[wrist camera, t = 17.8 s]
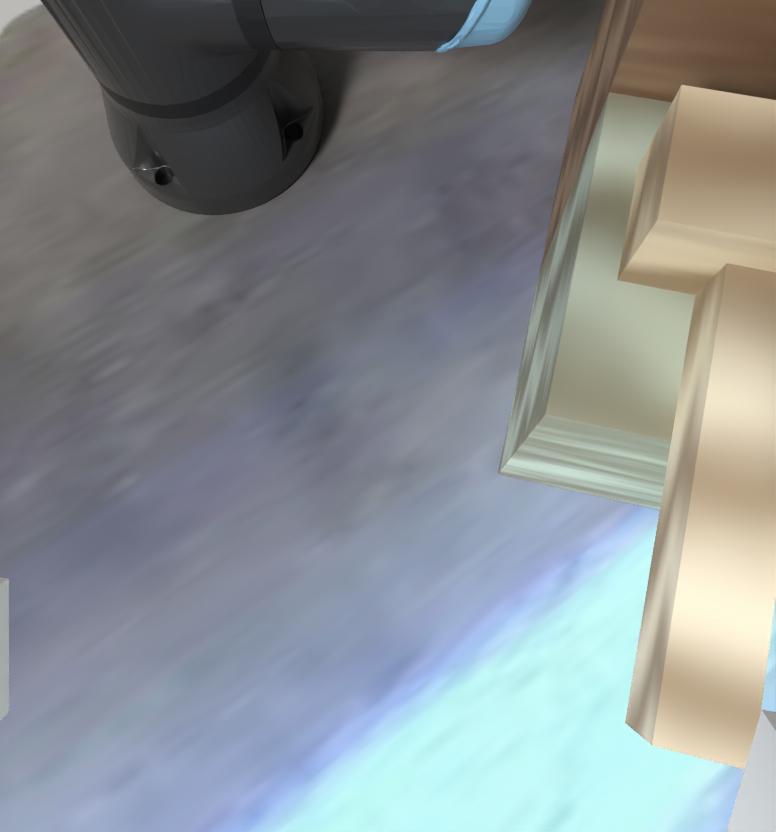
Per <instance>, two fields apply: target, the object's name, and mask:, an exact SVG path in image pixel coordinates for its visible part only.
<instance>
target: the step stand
mask: <svg viewBox="0 0 776 832" xmlns="http://www.w3.org/2000/svg"><path fill="white" fill-rule="evenodd" d="M681 85H686V86H692V87H699V88H705V89H711V90H717V91H723V92H729V93H735V94H741V95H747V96H753V97H759V98H766V99H772V100H776V0H606V2H605V5H604V8H603V12H602V15H601V18H600V21H599V24H598V27H597V31H596V34H595V37H594V40H593V43H592V46H591V50H590V53H589V56H588V59H587V62H586V65H585V69H584V72H583V75H582V78H581V81H580V85H579V88H578V91H577V94H576V99H575V104H574V108H573V113H572V118H571V123H570V128H569V133H568V138H567V142H566V147H565V152H564V157H563V162H562V167H561V171H560V176H559V181H558V186H557V191H556V196H555V200H554V205H553V210H552V215H551V220H550V225H549V230H548V234H547V239H546V244H545V249H544V254H543V259H542V263H541V268H540V273H539V278H538V283H537V288H536V292H535V297H534V302H533V307H532V312H531V317H530V322H529V326H528V331H527V336H526V341H525V346H524V351H523V355H522V360H521V365H520V370H519V375H518V380H517V384H516V389H515V394H514V399H513V404H512V409H511V414H510V418H509V423H508V428H507V433H506V438H505V443H504V447H503V452H502V457H501V462H500V467H499V472H498V474H500V475H505V476H509V477H514V478H518V479H523V480H527V481H532V482H536V483H541V484H545V485H549V486H554V487H558V488H563V489H567V490H572V491H576V492H581V493H585V494H590V495H594V496H598V497H603V498H607V499H612V500H616V501H621V502H625V503H630V504H634V505H638V506H643V507H647V508H652V509H656V510H660V506H661V500H662V494H663V488H664V482H665V476H666V470H667V464H668V457H669V451H670V445H671V439H672V433H673V427H674V421H675V415H676V408H677V402H678V396H679V390H680V384H681V378H682V372H683V365H684V359H685V353H686V347H687V341H688V335H689V329H690V323H691V316H692V310H693V304H694V298H695V295H691V294H686V293H681V292H676V291H670V290H665V289H660V288H655V287H650V286H645V285H639V284H634V283H629V282H624V281H619V280H617V278H618V273H619V268H620V262H621V257H622V251H623V246H624V241H625V235H626V230H627V225H628V219H629V214H630V208H631V203H632V198H633V192H634V187H635V181H636V176H637V171H638V166H639V164H640V162H641V160H642V158H643V157H644V155H645V153H646V151H647V149H648V147H649V145H650V143H651V141H652V140H653V138H654V136H655V134H656V132H657V130H658V128H659V126H660V125H661V123H662V121H663V119H664V117H665V115H666V113H667V111H668V109H669V108H670V106H671V104H672V102H673V100H674V98H675V96H676V94H677V92H678V91H679V89H680V87H681Z"/></svg>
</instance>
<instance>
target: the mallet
mask: <svg viewBox="0 0 776 832" xmlns="http://www.w3.org/2000/svg"><path fill="white" fill-rule="evenodd" d="M617 280H619V281H624V282H629V283H634V284H639V285H645V286H650V287H655V288H660V289H665V290H670V291H676V292H681V293H686V294H691V295H695V298H694V304H693V310H692V316H691V323H690V329H689V335H688V341H687V347H686V353H685V359H684V365H683V372H682V378H681V384H680V390H679V396H678V402H677V408H676V415H675V421H674V427H673V433H672V439H671V445H670V451H669V457H668V464H667V470H666V476H665V482H664V488H663V494H662V500H661V506H660V513H659V519H658V525H657V531H656V537H655V543H654V549H653V556H652V562H651V568H650V574H649V580H648V586H647V592H646V598H645V605H644V611H643V617H642V623H641V629H640V635H639V641H638V648H637V654H636V660H635V666H634V672H633V678H632V684H631V690H630V697H629V703H628V709H627V715H626V721H625V723H626V724H627V725H628V726H630V727H631V728H632V729H633V730H634V731H636V732H637V733H638V734H639V735H640V736H642V737H643V738H644V739H645V740H646V741H648V742H649V743H650V744H651V745H653V746H657V747H661V748H665V749H668V750H672V751H676V752H680V753H684V754H688V755H692V756H695V757H699V758H703V759H707V760H711V761H715V762H718V763H722V764H726V765H730V766H734V767H738V768H742V769H745V766H746V763H747V759H748V756H749V752H750V749H751V745H752V742H753V738H754V735H755V731H756V728H757V725H758V721H759V718H760V714H761V706H762V699H763V691H764V683H765V675H766V668H767V660H768V652H769V644H770V637H771V629H772V621H773V614H774V606H775V598H776V100H772V99H766V98H759V97H753V96H747V95H741V94H735V93H729V92H723V91H717V90H711V89H705V88H699V87H692V86H686V85H681V87H680V89H679V91H678V92H677V94H676V96H675V98H674V100H673V102H672V104H671V106H670V108H669V109H668V111H667V113H666V115H665V117H664V119H663V121H662V123H661V125H660V126H659V128H658V130H657V132H656V134H655V136H654V138H653V140H652V141H651V143H650V145H649V147H648V149H647V151H646V153H645V155H644V157H643V158H642V160H641V162H640V164H639V166H638V171H637V176H636V181H635V187H634V192H633V198H632V203H631V208H630V214H629V219H628V225H627V230H626V235H625V241H624V246H623V251H622V257H621V262H620V268H619V273H618V278H617Z"/></svg>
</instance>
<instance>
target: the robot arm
mask: <svg viewBox="0 0 776 832" xmlns="http://www.w3.org/2000/svg"><path fill="white" fill-rule="evenodd" d="M41 2H42V3H43V4H44V6H45V7H46V9H47V10H48V11H49V13H50V14H51V16H52V17H53V18H54V20H55V21H56V23H57V24H58V25H59V27H60V28H61V30H62V31H63V32H64V34H65V35H66V37H67V38H68V39H69V41H70V42H71V44H72V45H73V46H74V48H75V49H76V51H77V52H78V53H79V55H80V56H81V58H82V59H83V61H84V62H85V63H86V65H87V66H88V68H89V69H90V70H91V72H92V73H93V74H94V76H95V77H96V79H97V80H98V82H99V83H100V86H101V91H102V96H103V100H104V105H105V110H106V115H107V120H108V125H109V129H110V133H111V137H112V140H113V143H114V145H115V147H116V149H117V152H118V153H119V155H120V157H121V159H122V160H123V162H124V163H125V165H126V166H127V167H128V169H129V170H130V171H131V173H132V174H133V175H134V177H135V178H136V179H137V180H138V182H139V183H140V184H141V185H142V186H143V187H144V188H145V189H146V190H147V191H148V192H149V193H150V194H152V195H153V196H154V197H156V198H157V199H159V200H160V201H162V202H164V203H165V204H167V205H169V206H172V207H174V208H177V209H179V210H183V211H186V212H190V213H195V214H203V215H222V214H231V213H236V212H241V211H244V210H248V209H251V208H253V207H256V206H259V205H261V204H263V203H265V202H267V201H269V200H271V199H272V198H274V197H276V196H277V195H279V194H280V193H281V192H283V191H284V190H285V189H287V188H288V187H289V186H290V185H291V184H292V183H293V182H294V181H295V180H296V179H297V178H298V177H299V176H300V175H301V174H302V172H303V171H304V170H305V168H306V167H307V166H308V164H309V163H310V161H311V159H312V157H313V156H314V154H315V151H316V149H317V147H318V144H319V141H320V138H321V134H322V129H323V122H324V106H323V99H322V95H321V91H320V86H319V82H318V78H317V74H316V71H315V68H314V66H313V64H312V62H311V60H310V58H309V56H308V54H307V52H306V51H431V52H445V51H448V50H450V49H452V48H460V47H471V46H482V45H491V44H495V43H498V42H500V41H502V40H504V39H505V38H507V37H508V36H509V35H510V34H512V33H513V32H514V31H515V29H516V28H517V27H518V26H519V25H520V23H521V22H522V20H523V18H524V17H525V15H526V13H527V11H528V9H529V7H530V5H531V2H532V0H41ZM8 713H9V579H7V578H1V577H0V721H1V720H2V719H3V718H4V717H5V716H6V715H7V714H8ZM727 832H776V712H772V711H766V710H762V711H761V714H760V718H759V721H758V725H757V728H756V731H755V735H754V738H753V742H752V745H751V749H750V752H749V756H748V759H747V763H746V766H745V770H744V773H743V777H742V780H741V784H740V787H739V791H738V794H737V797H736V801H735V804H734V808H733V811H732V815H731V818H730V822H729V825H728V829H727Z"/></svg>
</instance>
